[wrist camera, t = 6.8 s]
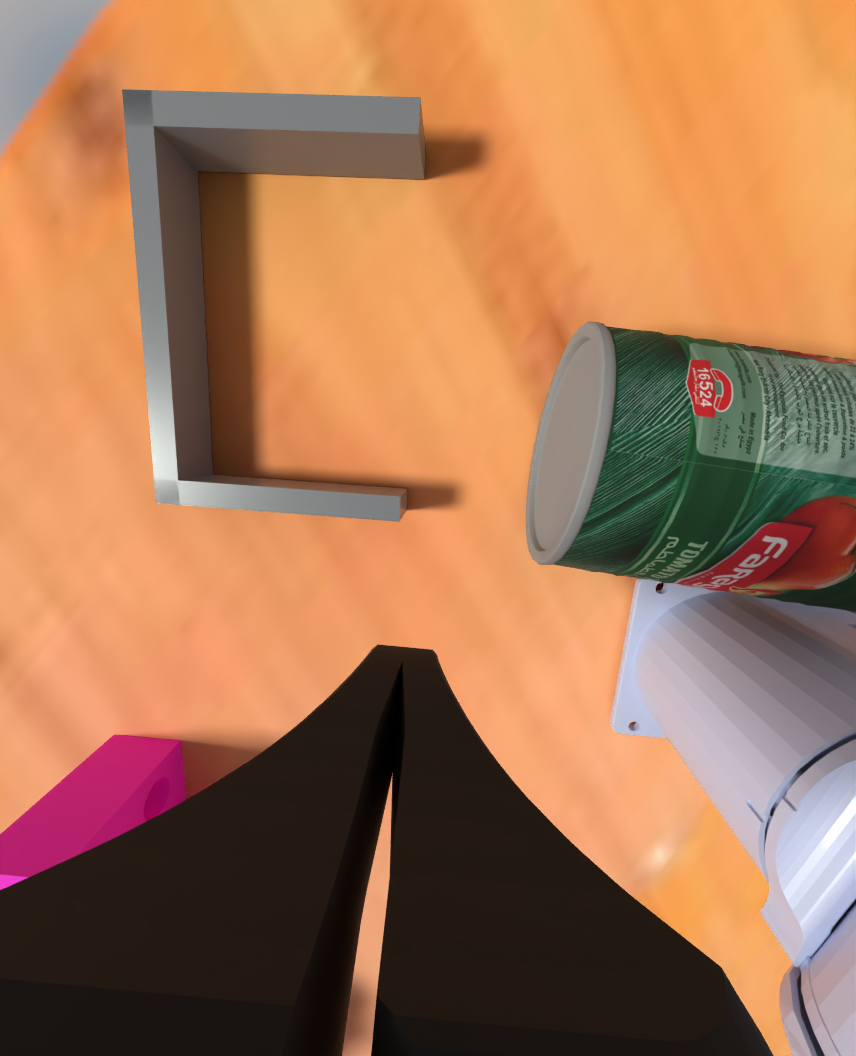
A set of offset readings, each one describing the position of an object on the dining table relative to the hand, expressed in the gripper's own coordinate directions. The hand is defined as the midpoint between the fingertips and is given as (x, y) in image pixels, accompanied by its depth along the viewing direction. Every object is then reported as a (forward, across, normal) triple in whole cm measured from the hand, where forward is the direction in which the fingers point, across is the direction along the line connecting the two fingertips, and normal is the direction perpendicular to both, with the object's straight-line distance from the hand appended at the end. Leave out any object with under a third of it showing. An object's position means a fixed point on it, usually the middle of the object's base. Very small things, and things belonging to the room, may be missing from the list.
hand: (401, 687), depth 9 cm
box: (+11, +6, -9) cm, 15 cm away
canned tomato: (+6, -4, -5) cm, 9 cm away
